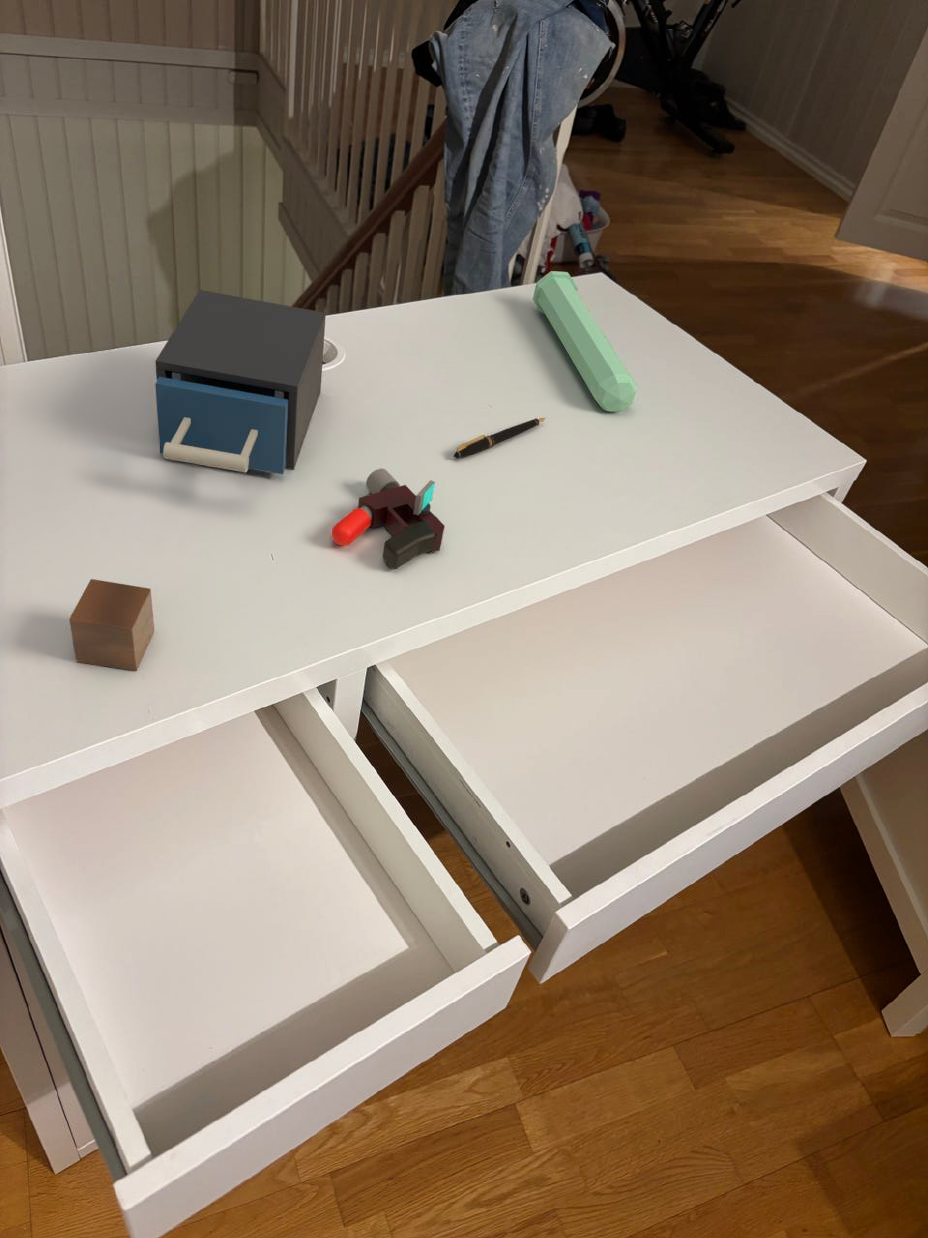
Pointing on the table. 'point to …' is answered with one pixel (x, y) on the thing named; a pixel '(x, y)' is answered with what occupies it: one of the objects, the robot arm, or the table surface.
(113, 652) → the block
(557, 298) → the container
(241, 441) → the drawer
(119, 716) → the table surface
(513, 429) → the fountain pen
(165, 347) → the cabinet
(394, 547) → the toy gun
